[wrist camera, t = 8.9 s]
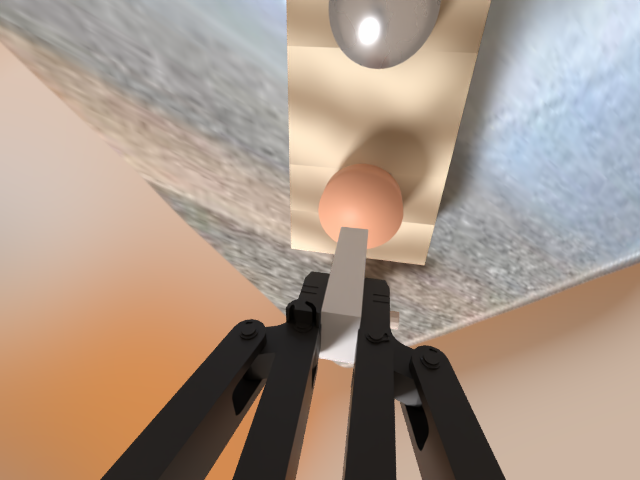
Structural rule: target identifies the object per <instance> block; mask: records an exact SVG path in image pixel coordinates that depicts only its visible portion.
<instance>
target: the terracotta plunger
mask: <svg viewBox="0 0 640 480" xmlns="http://www.w3.org/2000/svg"><path fill="white" fill-rule="evenodd" d="M318 213H319V219H320V222H321V225H322V227H323V229H324V230H325V232H326V233H327V234H328V235H329V236H330V237H331V238H332V239H333V240H334V241H336V242H338V238H339V234H340V229H341V227H350V228H359V229H368V241H367V249H371V248H375V247H378V246H380V245H382V244H384V243H386V242H387V241H389V240H390V239H391V238H392V237H393V236H394V235H395V234H396V233H397V231H398V230H399V228H400V226H401V223H402V220H403V201H402V194H401V190H400V187H399V185H398V183H397V182H396V180H395V179H394V178H393V177H392V176H391V174H389V173H388V172H387V171H385V170H384V169H382V168H380V167H377V166H374V165H370V164H354V165H350V166H347V167H345V168H343V169H341V170H339V171H338V172H336V173H335V174H334V175H333V176H332V177H331V178H330V180H329V181H328V183H327V185H326V187H325V189H324V192H323V194H322V196H321V199H320V202H319V208H318Z"/></svg>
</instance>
